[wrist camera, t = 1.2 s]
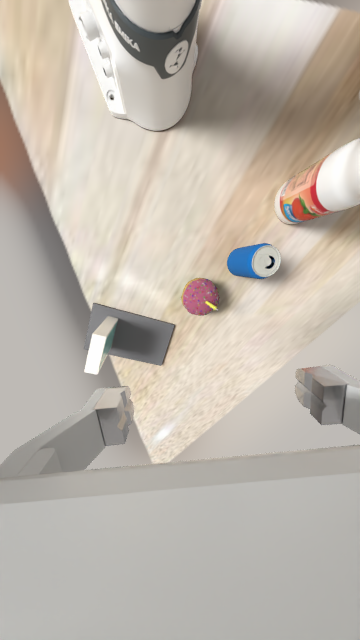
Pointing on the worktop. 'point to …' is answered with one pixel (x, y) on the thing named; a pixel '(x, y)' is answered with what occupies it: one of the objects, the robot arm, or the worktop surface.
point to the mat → (133, 334)
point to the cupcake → (200, 296)
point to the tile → (100, 345)
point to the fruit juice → (322, 187)
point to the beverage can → (254, 261)
